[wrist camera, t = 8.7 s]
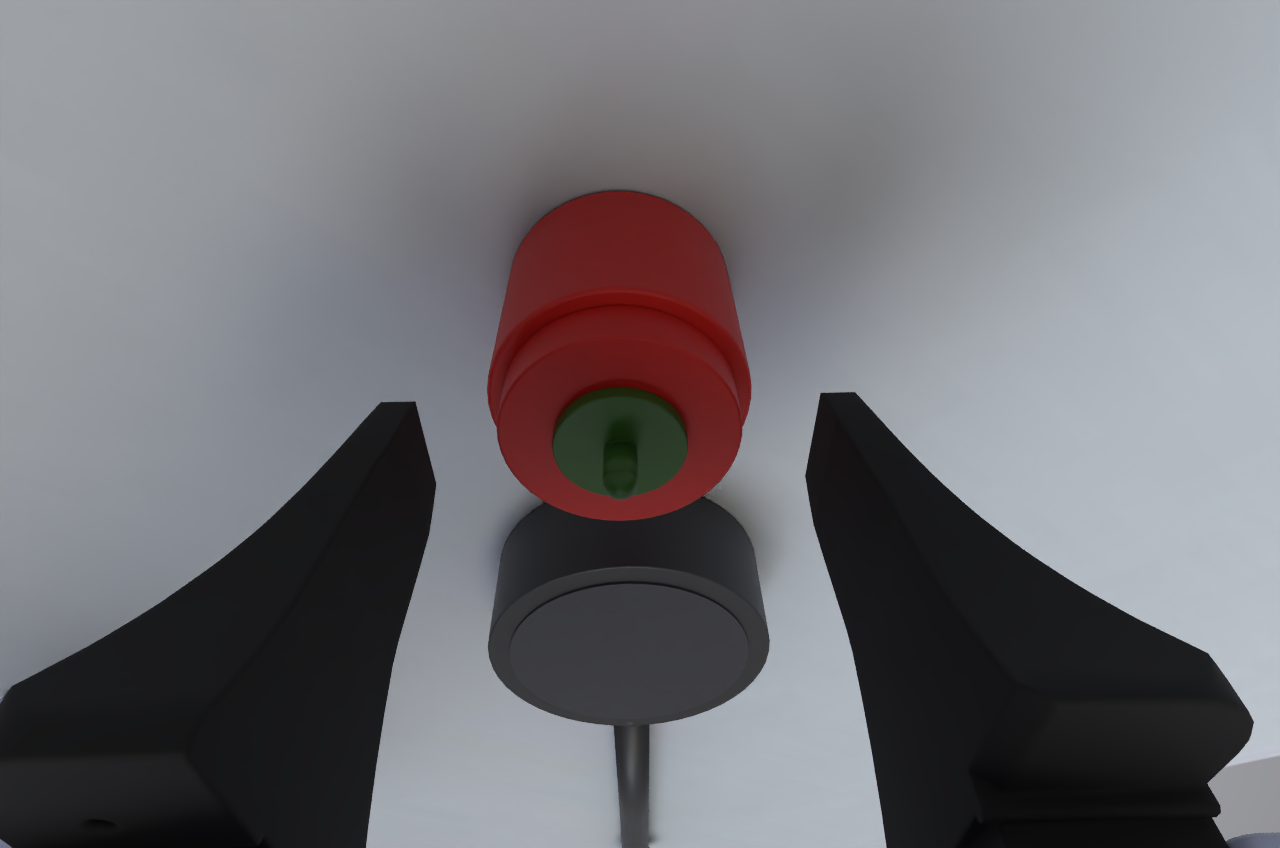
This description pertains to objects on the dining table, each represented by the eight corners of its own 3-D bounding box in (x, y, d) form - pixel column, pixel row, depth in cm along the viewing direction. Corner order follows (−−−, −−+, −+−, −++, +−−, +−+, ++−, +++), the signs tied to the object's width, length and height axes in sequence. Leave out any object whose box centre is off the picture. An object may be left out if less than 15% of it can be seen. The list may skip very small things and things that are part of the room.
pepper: (721, 379, 19) (756, 585, 14) (522, 382, 19) (489, 591, 14) (736, 187, 16) (789, 370, 11) (495, 191, 16) (442, 377, 11)
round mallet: (715, 845, 38) (721, 915, 36) (555, 850, 38) (551, 920, 36) (767, 479, 21) (786, 565, 19) (483, 484, 21) (467, 572, 19)
